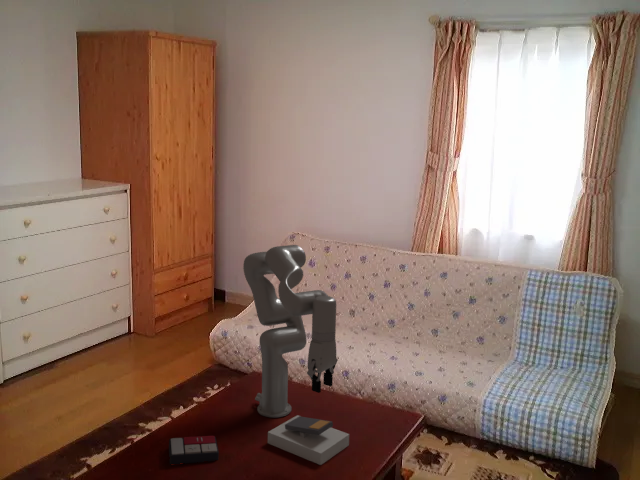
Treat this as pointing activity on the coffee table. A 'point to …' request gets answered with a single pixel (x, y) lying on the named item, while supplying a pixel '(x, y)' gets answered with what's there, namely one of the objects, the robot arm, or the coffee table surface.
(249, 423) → the coffee table surface
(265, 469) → the coffee table surface
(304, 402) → the coffee table surface
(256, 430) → the coffee table surface
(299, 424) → the rocker switch
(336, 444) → the switch box
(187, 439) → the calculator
